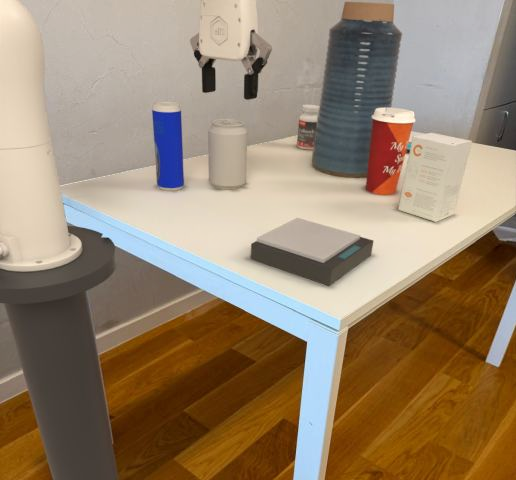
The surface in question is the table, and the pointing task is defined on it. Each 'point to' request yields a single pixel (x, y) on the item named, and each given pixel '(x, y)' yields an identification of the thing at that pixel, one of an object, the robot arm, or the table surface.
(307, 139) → the pill bottle
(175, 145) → the beverage can
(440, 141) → the small box
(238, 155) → the can
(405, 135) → the coffee cup
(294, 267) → the scale
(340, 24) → the vase
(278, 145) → the table surface
